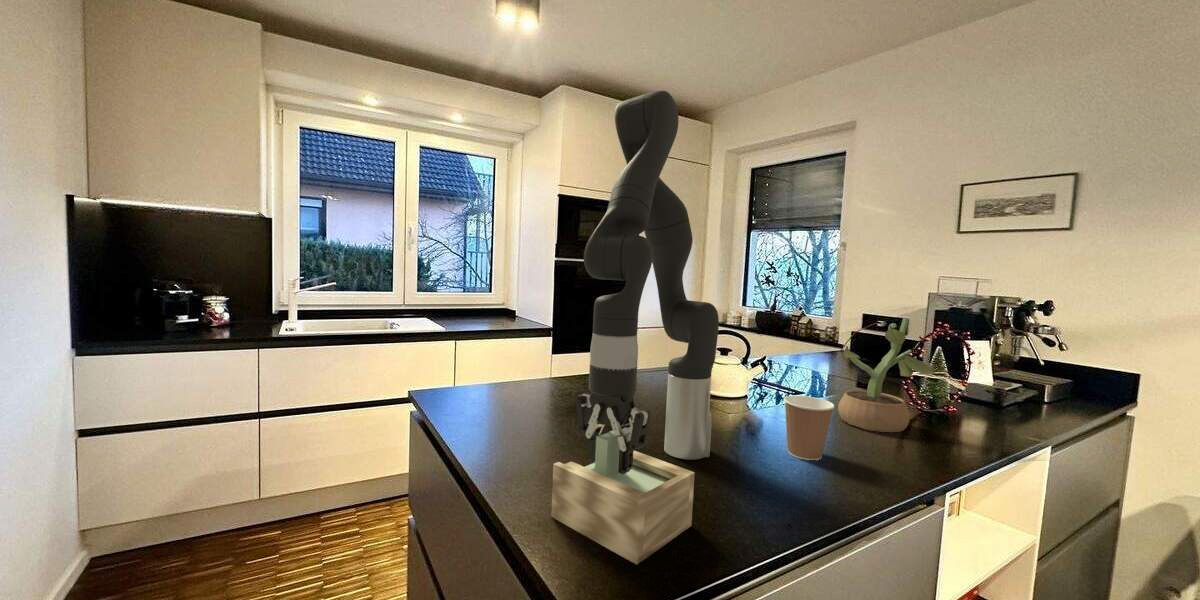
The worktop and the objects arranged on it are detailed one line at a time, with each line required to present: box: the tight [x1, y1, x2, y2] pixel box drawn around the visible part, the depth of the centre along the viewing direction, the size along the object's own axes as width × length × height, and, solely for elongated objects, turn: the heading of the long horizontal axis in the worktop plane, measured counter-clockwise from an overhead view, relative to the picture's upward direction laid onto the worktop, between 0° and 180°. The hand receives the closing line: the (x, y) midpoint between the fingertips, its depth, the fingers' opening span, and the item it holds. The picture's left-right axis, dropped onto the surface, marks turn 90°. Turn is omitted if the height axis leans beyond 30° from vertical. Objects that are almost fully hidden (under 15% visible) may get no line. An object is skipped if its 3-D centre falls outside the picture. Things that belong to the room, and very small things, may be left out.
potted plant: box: [837, 318, 936, 433], centre depth 127 cm, size 22×18×30 cm
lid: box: [584, 430, 670, 493], centre depth 75 cm, size 14×10×7 cm
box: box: [550, 450, 696, 565], centre depth 75 cm, size 17×14×9 cm
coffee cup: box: [783, 395, 835, 461], centre depth 106 cm, size 10×10×12 cm
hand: (608, 465), depth 77 cm, fingers open, 5 cm apart
